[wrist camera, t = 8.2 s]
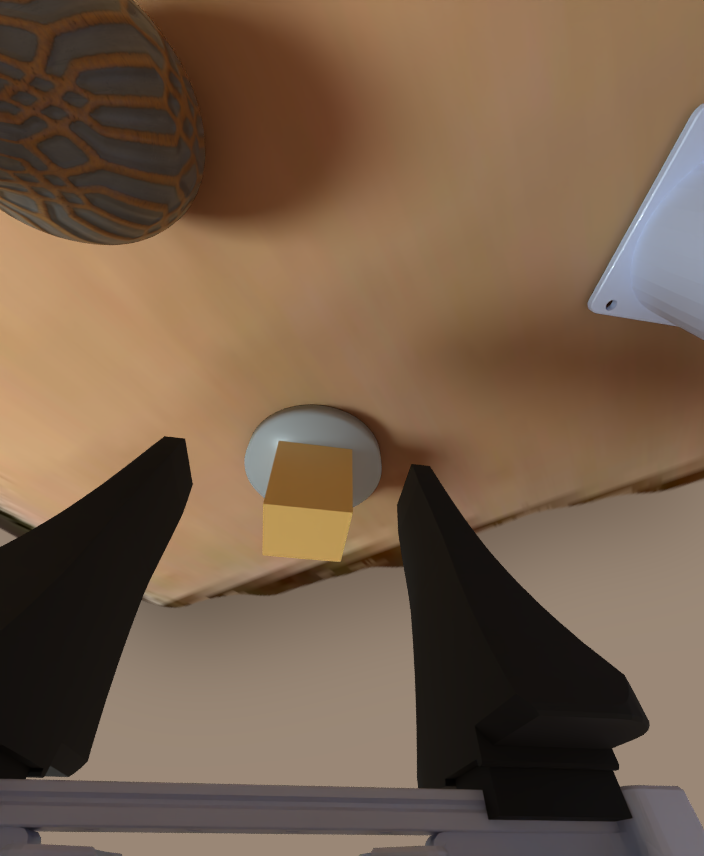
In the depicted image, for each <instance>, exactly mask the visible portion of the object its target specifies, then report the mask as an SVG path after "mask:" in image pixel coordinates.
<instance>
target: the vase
mask: <svg viewBox="0 0 704 856" xmlns="http://www.w3.org/2000/svg"><path fill="white" fill-rule="evenodd" d="M204 163H205V138H204V129H203V123H202V119H201V114H200V110H199V107H198V103H197V100H196V97H195V94H194V91H193V89H192V86H191V84H190V82H189V79H188V77H187V75H186V73H185V71H184V69H183V67H182V65H181V63H180V61H179V60H178V58H177V56H176V55H175V53H174V51H173V50H172V48H171V47H170V45H169V43H168V42H167V41H166V39H165V38H164V36H163V35H162V33H161V32H160V31H159V29H158V28H157V27H156V25H155V24H154V23H153V21H152V20H151V19H150V18H149V17H148V16H147V14H146V13H145V12H144V11H143V10H142V9H141V8H140V7H139V6H138V5H137V4H136V3H135V2H134V1H133V0H0V210H2V211H3V212H5V213H7V214H8V215H10V216H12V217H13V218H15V219H17V220H19V221H21V222H22V223H24V224H26V225H29V226H31V227H33V228H35V229H38V230H40V231H43V232H45V233H48V234H51V235H54V236H57V237H60V238H64V239H68V240H72V241H77V242H82V243H89V244H98V245H120V244H129V243H134V242H138V241H142V240H145V239H147V238H150V237H153V236H155V235H157V234H159V233H161V232H162V231H164V230H166V229H167V228H169V227H170V226H171V225H173V224H174V223H175V222H176V221H178V220H179V219H180V218H181V217H182V216H183V215H184V214H185V212H186V211H187V210H188V208H189V207H190V205H191V204H192V202H193V200H194V198H195V196H196V194H197V192H198V189H199V187H200V184H201V180H202V176H203V171H204Z"/></svg>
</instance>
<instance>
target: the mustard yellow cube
mask: <svg viewBox="0 0 704 856" xmlns="http://www.w3.org/2000/svg"><path fill="white" fill-rule="evenodd" d="M352 514H353V474H352V449H345V448H337V447H328V446H320V445H311V444H303V443H294V442H286V441H279V442H278V446H277V450H276V454H275V458H274V462H273V466H272V470H271V474H270V478H269V482H268V486H267V491H266V495H265V499H264V503H263V555H267V556H278V557H290V558H301V559H313V560H324V561H336V562H341V558H342V554H343V550H344V546H345V542H346V538H347V534H348V530H349V526H350V522H351V518H352Z"/></svg>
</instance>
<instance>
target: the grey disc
mask: <svg viewBox="0 0 704 856" xmlns="http://www.w3.org/2000/svg"><path fill="white" fill-rule="evenodd" d="M279 441H286V442H294V443H303V444H311V445H320V446H328V447H337V448H345V449H352V474H353V507H355V506H356V505H358V504H360V503H361V502H363V501H364V500H366V499H367V498H368V497H369V496H370V495H371V494H372V493H373V491H374V490H375V489H376V487H377V485H378V483H379V480H380V477H381V469H382V465H381V455H380V449H379V445H378V442H377V440H376V438H375V436H374V434H373V433H372V432H371V430H370V429H369V428H368V427H367V426H366V425H365V424H364V423H363V422H361V421H360V420H359V419H357V418H356V417H354V416H352V415H351V414H349V413H347V412H344V411H342V410H339V409H336V408H332V407H328V406H322V405H300V406H293V407H289V408H286V409H283V410H280V411H278V412H276V413H274V414H272V415H270V416H269V417H267V418H266V419H265V420H263V421H262V422H261V423H260V424H259V426H258V427H257V428H256V429H255V431H254V432H253V435H252V437H251V439H250V442H249V445H248V448H247V451H246V455H245V471H246V474H247V477H248V479H249V481H250V483H251V484H252V486H253V487H254V488H255V490H256V491H257V492H258V493H259V494H260V495H261V496H263V497H264V498H265V495H266V491H267V486H268V482H269V478H270V474H271V470H272V466H273V462H274V458H275V454H276V450H277V446H278V442H279Z"/></svg>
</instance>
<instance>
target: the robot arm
mask: <svg viewBox="0 0 704 856" xmlns="http://www.w3.org/2000/svg"><path fill="white" fill-rule="evenodd" d="M611 300H613V301H612V304H611V305H610V306H608V307H606V304H607V303H608V302H609V301H611ZM588 308H589V310H591V311H592V312H594V313H598V314H604V315H610V316H616V317H622V318H628V319H635V320H641V321H647V322H653V323H659V324H666V325H672V326H678V327H680V328H682V329H684V330H686V331H688V332H689V333H691V334H693V335H695V336H697V337H699V338H700V339H702V340H704V103H703V104H701V105H700V106H699V107H698V108H697V109H695V111H694V112H693V113H692V115H691V116H690V118H689V120H688V122H687V124H686V125H685V127H684V129H683V131H682V133H681V134H680V136H679V138H678V140H677V142H676V143H675V145H674V147H673V149H672V151H671V152H670V154H669V156H668V158H667V160H666V162H665V163H664V165H663V167H662V169H661V171H660V172H659V174H658V176H657V178H656V180H655V181H654V183H653V185H652V187H651V189H650V190H649V192H648V194H647V196H646V198H645V199H644V201H643V203H642V205H641V207H640V208H639V210H638V212H637V214H636V216H635V218H634V219H633V221H632V223H631V225H630V227H629V228H628V230H627V232H626V234H625V236H624V237H623V239H622V241H621V243H620V245H619V246H618V248H617V250H616V252H615V254H614V255H613V257H612V259H611V261H610V263H609V264H608V266H607V268H606V270H605V272H604V274H603V275H602V277H601V279H600V281H599V283H598V284H597V286H596V288H595V290H594V292H593V293H592V295H591V297H590V299H589V301H588ZM192 485H193V483H192V477H191V471H190V465H189V459H188V454H187V448H186V442H185V439H183V438H174V437H166V436H165V437H163V438H162V439H161V440H159V441H158V442H157V443H155V444H154V445H153V446H151V447H150V448H149V449H148V450H146V451H145V452H144V453H142V454H141V455H140V456H139V457H137V458H136V459H135V460H134V461H132V462H131V463H130V464H128V465H127V466H126V467H125V468H123V469H122V470H121V471H119V472H118V473H117V474H115V475H114V476H113V477H111V478H110V479H109V480H107V481H106V482H105V483H103V484H102V485H100V486H99V487H98V488H96V489H95V490H93V491H92V492H90V493H89V494H88V495H86V496H85V497H83V498H82V499H80V500H79V501H77V502H76V503H75V504H73V505H72V506H70V507H69V508H67V509H65V510H64V511H62V512H61V513H59V514H58V515H56V516H54V517H53V518H51V519H49V520H48V521H46V522H44V523H43V524H41V525H39V526H38V527H36V528H34V529H33V530H31V531H29V532H27V533H26V534H24V535H22V536H20V537H18V538H17V539H15V540H13V541H11V542H9V543H7V544H5V545H3V546H1V547H0V856H122V854H118V853H110V852H104V851H100V850H95V849H94V848H93V847H87V846H66V845H45V844H41V837H40V835H39V833H38V832H35V831H59V832H155V833H249V834H250V833H251V834H255V833H256V834H347V835H356V834H357V835H432V836H430V837H429V838H428V840H427V841H426V844H425V846H408V847H387V848H386V847H385V848H373V850H372V852H371V853H366V854H360V855H359V856H704V829H703V827H702V825H701V823H700V821H699V819H698V817H697V815H696V813H695V812H694V810H693V808H692V806H691V804H690V802H689V800H688V798H687V796H686V794H685V792H684V791H683V790H682V789H681V788H680V787H678V786H645V785H633V786H632V785H631V786H622V787H620V786H619V784H618V782H617V779H616V777H615V775H614V772H613V771H614V770H615V771H616V770H619V764H618V761H617V759H616V757H615V754H614V752H613V750H612V748H614V747H616V746H619V745H621V744H624V743H626V742H629V741H631V740H633V739H636V738H638V737H640V736H642V735H644V734H645V733H646V732H647V731H648V729H649V720H648V719H647V717H646V715H645V713H644V711H643V709H642V707H641V705H640V703H639V701H638V699H637V697H636V695H635V694H634V692H633V690H632V688H631V686H630V684H629V682H628V681H627V679H626V677H625V675H624V674H622V673H621V672H620V671H618V670H617V669H616V668H615V667H613V666H612V665H611V664H610V663H608V662H607V661H606V660H605V659H603V658H602V657H601V656H599V655H598V654H597V653H595V652H594V651H593V650H592V649H591V648H589V647H588V646H587V645H586V644H584V643H583V642H582V641H581V640H579V639H578V638H577V637H576V636H575V635H574V634H573V633H571V632H570V631H569V630H568V629H567V628H566V627H564V626H563V625H562V624H561V623H560V622H559V621H557V620H556V619H555V618H554V617H553V616H552V615H551V614H550V613H549V612H547V610H545V609H544V608H543V607H542V606H541V605H540V604H539V603H538V602H537V601H536V600H535V599H534V598H533V597H532V596H531V595H530V594H529V593H528V592H527V591H526V590H525V589H524V588H523V587H522V586H521V585H520V584H519V583H518V582H517V581H516V580H515V579H514V578H513V577H512V576H511V575H510V574H509V573H508V572H507V570H506V569H505V568H504V567H503V566H502V565H501V564H500V563H499V562H498V560H496V558H495V557H494V556H493V555H492V554H491V552H490V551H489V550H488V549H487V548H486V546H485V545H484V544H483V543H482V541H481V540H480V539H479V537H478V536H477V535H476V534H475V532H474V531H473V530H472V528H471V527H470V525H469V524H468V523H467V521H466V520H465V518H464V517H463V516H462V514H461V513H460V511H459V510H458V509H457V507H456V506H455V504H454V503H453V501H452V500H451V498H450V497H449V495H448V494H447V492H446V491H445V489H444V487H443V486H442V484H441V483H440V481H439V480H438V478H437V477H436V475H435V473H434V472H433V470H432V469H431V467H430V466H424V465H415V464H411V467H410V470H409V473H408V476H407V479H406V481H405V484H404V487H403V490H402V493H401V496H400V498H399V501H398V504H397V513H398V534H399V541H400V547H401V553H402V559H403V565H404V571H405V576H406V583H407V588H408V595H409V601H410V609H411V619H412V634H413V649H414V667H415V688H416V689H415V691H416V724H417V781H418V788H416V789H415V788H374V787H333V786H289V785H246V784H203V783H160V782H117V781H114V782H113V781H72V780H71V781H70V780H29V779H26V777H36V778H37V777H38V778H43V777H44V776H56V777H69V776H71V775H72V774H74V773H75V772H76V771H78V770H79V769H80V768H81V767H82V766H83V765H84V764H85V763H86V762H87V761H88V758H89V754H90V751H91V748H92V744H93V741H94V738H95V734H96V731H97V728H98V724H99V721H100V718H101V715H102V711H103V708H104V705H105V702H106V698H107V695H108V692H109V690H110V687H111V684H112V681H113V678H114V675H115V672H116V668H117V665H118V662H119V660H120V657H121V654H122V651H123V648H124V646H125V643H126V640H127V637H128V634H129V631H130V629H131V626H132V623H133V621H134V618H135V615H136V613H137V610H138V607H139V605H140V602H141V600H142V597H143V594H144V592H145V590H146V588H147V585H148V583H149V581H150V579H151V577H152V575H153V573H154V571H155V569H156V567H157V565H158V563H159V561H160V559H161V557H162V555H163V553H164V551H165V549H166V547H167V545H168V543H169V541H170V539H171V537H172V535H173V533H174V531H175V528H176V526H177V524H178V522H179V520H180V518H181V516H182V514H183V511H184V509H185V506H186V503H187V500H188V497H189V494H190V491H191V488H192Z"/></svg>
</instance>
